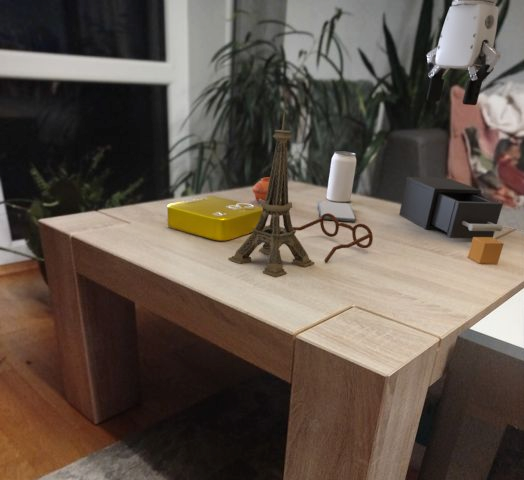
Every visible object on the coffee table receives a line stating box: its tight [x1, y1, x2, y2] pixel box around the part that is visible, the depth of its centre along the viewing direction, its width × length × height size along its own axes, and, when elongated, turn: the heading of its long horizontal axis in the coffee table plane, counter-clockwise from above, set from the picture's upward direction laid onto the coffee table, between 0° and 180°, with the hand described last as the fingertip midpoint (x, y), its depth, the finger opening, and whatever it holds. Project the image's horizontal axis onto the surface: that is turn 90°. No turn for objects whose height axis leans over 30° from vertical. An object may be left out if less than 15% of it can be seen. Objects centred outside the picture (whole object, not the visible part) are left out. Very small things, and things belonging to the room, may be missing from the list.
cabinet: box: [399, 176, 482, 231], centre depth 119 cm, size 14×12×9 cm
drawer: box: [430, 192, 504, 239], centre depth 109 cm, size 17×10×7 cm, turn 12°
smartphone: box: [317, 200, 357, 223], centre depth 121 cm, size 8×1×15 cm
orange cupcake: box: [252, 176, 274, 203], centre depth 124 cm, size 8×8×7 cm
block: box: [467, 237, 505, 265], centre depth 95 cm, size 4×4×4 cm
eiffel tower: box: [227, 100, 316, 278], centre depth 80 cm, size 11×11×25 cm
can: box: [326, 150, 357, 203], centre depth 133 cm, size 6×6×12 cm
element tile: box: [166, 195, 263, 242], centre depth 102 cm, size 15×15×5 cm
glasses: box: [293, 213, 374, 264], centre depth 95 cm, size 13×13×5 cm
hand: (450, 102), depth 99 cm, fingers open, 9 cm apart
